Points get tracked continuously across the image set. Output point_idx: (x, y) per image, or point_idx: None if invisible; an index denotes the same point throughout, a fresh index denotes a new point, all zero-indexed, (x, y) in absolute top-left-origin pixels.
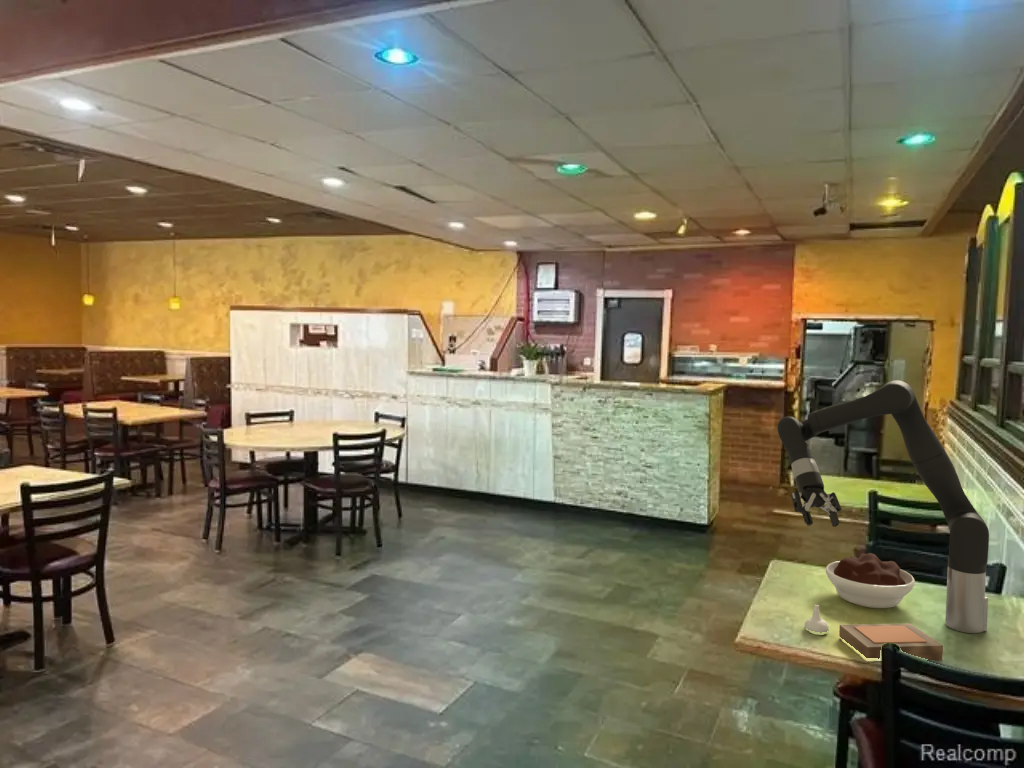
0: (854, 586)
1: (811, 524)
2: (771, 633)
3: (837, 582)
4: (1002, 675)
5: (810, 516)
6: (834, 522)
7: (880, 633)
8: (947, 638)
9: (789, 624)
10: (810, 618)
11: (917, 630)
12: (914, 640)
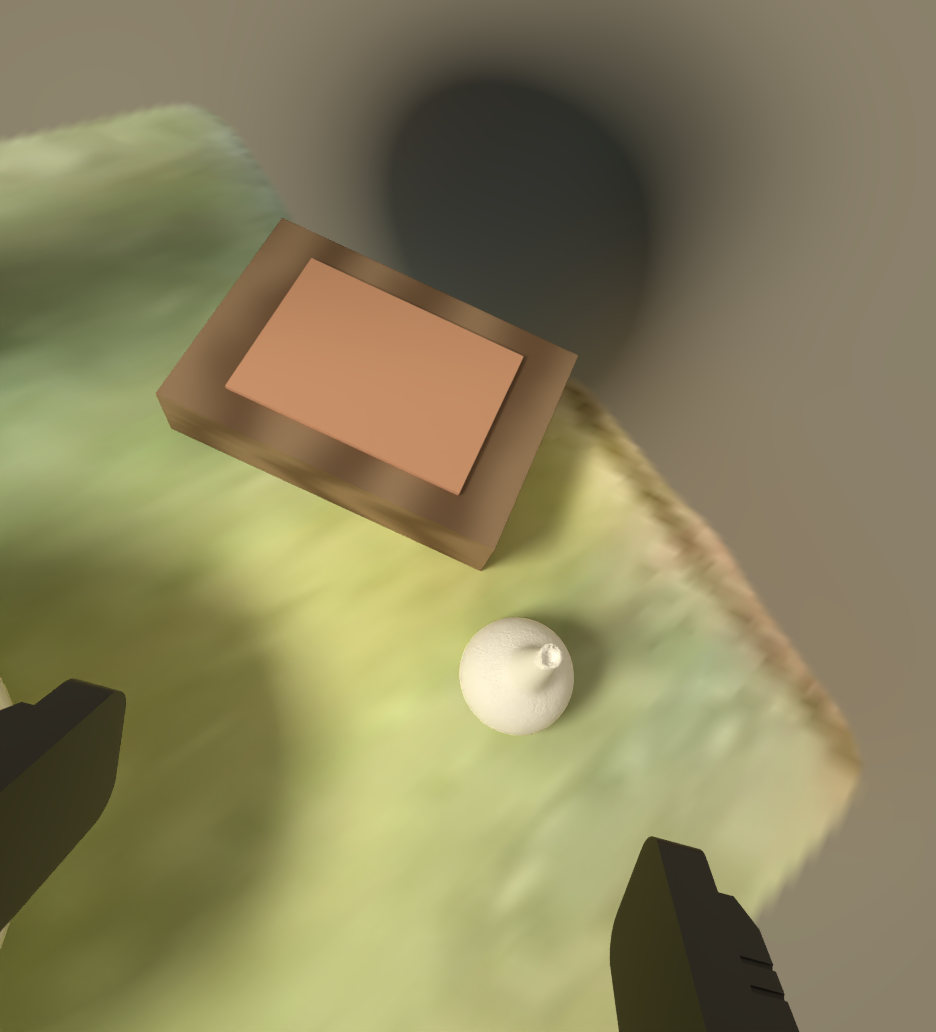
0: None
1: (637, 871)
2: (728, 764)
3: (8, 924)
4: (218, 124)
5: (707, 944)
6: (88, 762)
7: (416, 391)
8: (23, 342)
9: (569, 810)
10: (548, 693)
11: (214, 335)
12: (350, 286)
